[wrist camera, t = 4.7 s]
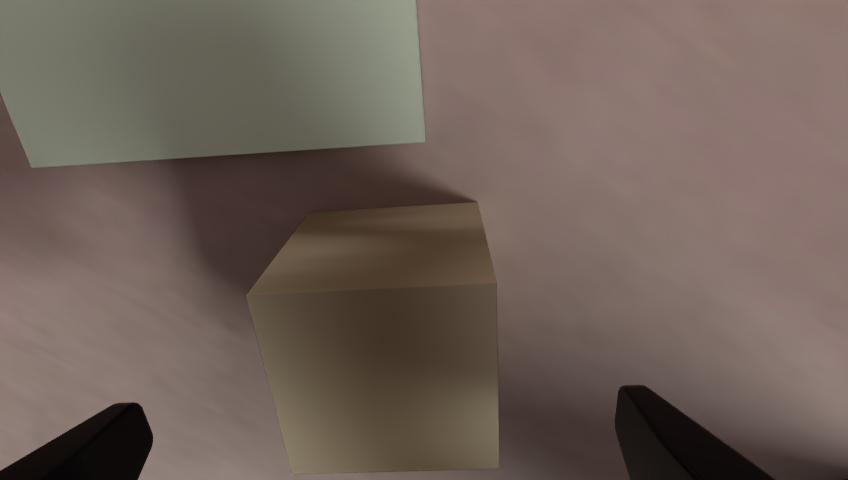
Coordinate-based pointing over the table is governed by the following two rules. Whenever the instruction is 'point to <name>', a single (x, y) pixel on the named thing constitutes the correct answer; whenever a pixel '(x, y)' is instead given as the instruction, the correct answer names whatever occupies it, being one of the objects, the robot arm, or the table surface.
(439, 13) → the table surface
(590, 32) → the table surface
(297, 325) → the sandy foam cube
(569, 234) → the table surface
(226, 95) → the pad
